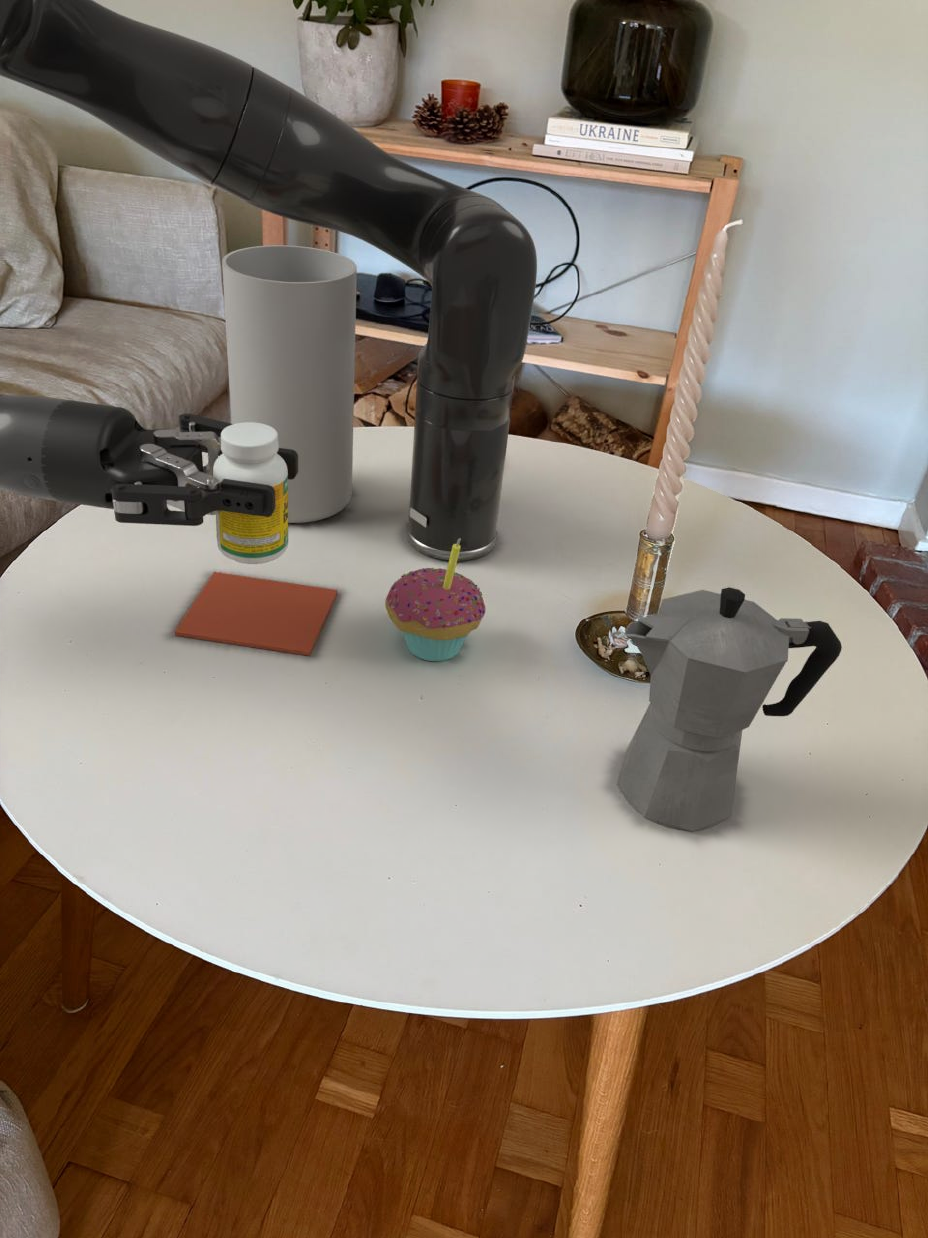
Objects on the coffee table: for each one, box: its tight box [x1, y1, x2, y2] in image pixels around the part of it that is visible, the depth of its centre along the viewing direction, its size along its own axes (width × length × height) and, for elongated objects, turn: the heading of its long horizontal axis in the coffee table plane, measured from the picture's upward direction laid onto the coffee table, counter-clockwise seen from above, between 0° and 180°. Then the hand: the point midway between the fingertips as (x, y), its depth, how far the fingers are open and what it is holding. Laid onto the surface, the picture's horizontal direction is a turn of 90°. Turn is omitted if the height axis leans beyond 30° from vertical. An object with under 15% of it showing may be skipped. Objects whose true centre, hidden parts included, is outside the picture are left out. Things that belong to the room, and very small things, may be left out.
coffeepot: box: [616, 586, 843, 832], centre depth 68 cm, size 15×9×18 cm, turn 95°
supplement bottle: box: [213, 422, 289, 565], centre depth 71 cm, size 5×5×10 cm
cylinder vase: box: [221, 244, 358, 524], centre depth 98 cm, size 12×12×25 cm
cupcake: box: [384, 538, 487, 662], centre depth 82 cm, size 9×8×12 cm
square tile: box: [174, 571, 338, 657], centre depth 87 cm, size 10×12×1 cm
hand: (284, 482), depth 70 cm, fingers closed on supplement bottle, 5 cm apart
